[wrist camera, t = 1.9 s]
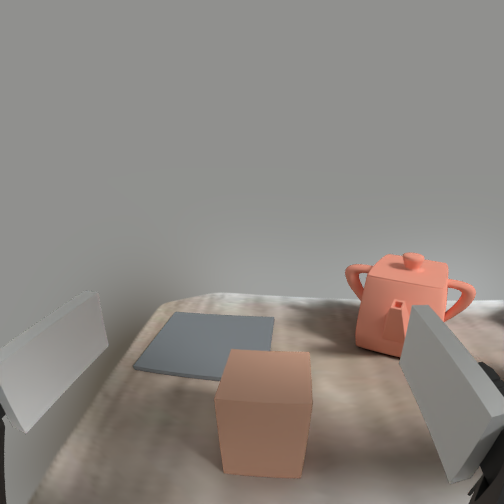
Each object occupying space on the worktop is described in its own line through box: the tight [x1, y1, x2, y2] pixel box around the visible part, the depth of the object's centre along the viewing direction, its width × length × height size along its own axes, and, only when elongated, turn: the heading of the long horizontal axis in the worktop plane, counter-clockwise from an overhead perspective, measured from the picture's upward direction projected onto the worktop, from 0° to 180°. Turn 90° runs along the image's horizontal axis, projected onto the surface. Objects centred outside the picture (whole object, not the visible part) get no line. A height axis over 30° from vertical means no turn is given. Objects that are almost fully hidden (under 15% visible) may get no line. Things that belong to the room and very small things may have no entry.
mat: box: [133, 312, 274, 381], centre depth 47 cm, size 18×18×1 cm
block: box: [214, 349, 313, 478], centre depth 25 cm, size 7×7×10 cm
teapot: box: [345, 253, 476, 357], centre depth 42 cm, size 20×22×14 cm
